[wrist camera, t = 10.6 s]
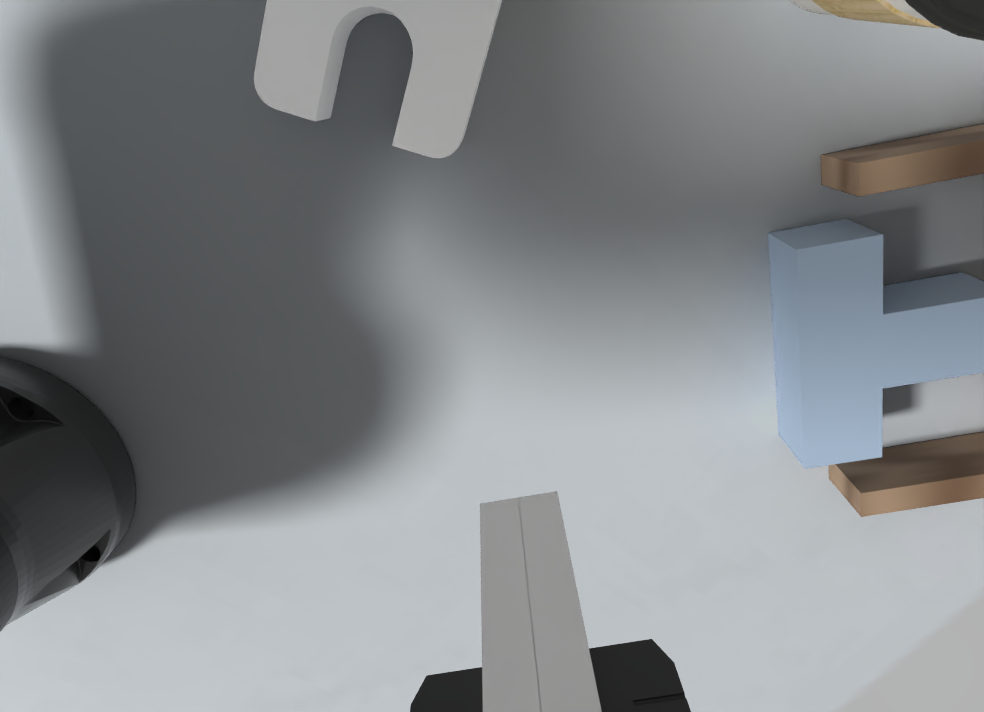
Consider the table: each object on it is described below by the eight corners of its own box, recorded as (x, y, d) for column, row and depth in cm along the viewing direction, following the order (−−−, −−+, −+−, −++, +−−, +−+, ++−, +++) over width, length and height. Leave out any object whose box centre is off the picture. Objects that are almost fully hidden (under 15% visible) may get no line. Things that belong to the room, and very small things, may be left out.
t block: (778, 434, 42) (804, 468, 38) (767, 232, 38) (796, 249, 34) (955, 406, 41) (1000, 439, 37) (965, 197, 37) (1017, 210, 33)
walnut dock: (829, 478, 43) (861, 516, 39) (820, 155, 36) (858, 163, 32) (1037, 445, 42) (1090, 481, 38) (1068, 107, 35) (1136, 111, 31)
